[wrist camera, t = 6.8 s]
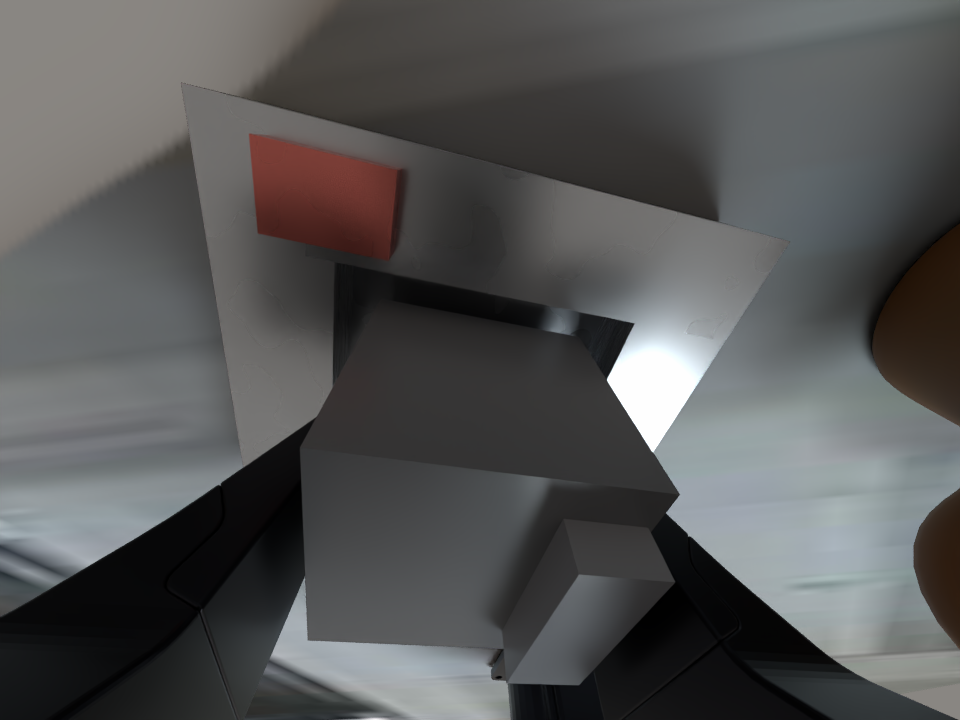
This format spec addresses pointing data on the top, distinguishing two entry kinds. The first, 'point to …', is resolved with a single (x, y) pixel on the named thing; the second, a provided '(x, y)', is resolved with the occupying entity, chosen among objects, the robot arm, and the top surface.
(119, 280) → the top surface
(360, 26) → the top surface
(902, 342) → the mug
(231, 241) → the socket plate
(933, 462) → the top surface
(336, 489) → the plug
